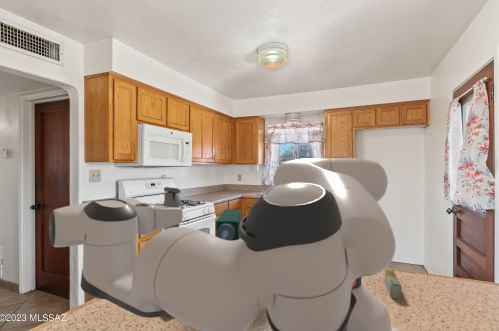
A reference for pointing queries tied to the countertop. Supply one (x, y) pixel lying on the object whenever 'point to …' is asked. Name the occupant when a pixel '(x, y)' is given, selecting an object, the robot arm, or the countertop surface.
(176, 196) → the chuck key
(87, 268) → the robot arm
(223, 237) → the power tool
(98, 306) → the countertop surface
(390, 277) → the medication box
